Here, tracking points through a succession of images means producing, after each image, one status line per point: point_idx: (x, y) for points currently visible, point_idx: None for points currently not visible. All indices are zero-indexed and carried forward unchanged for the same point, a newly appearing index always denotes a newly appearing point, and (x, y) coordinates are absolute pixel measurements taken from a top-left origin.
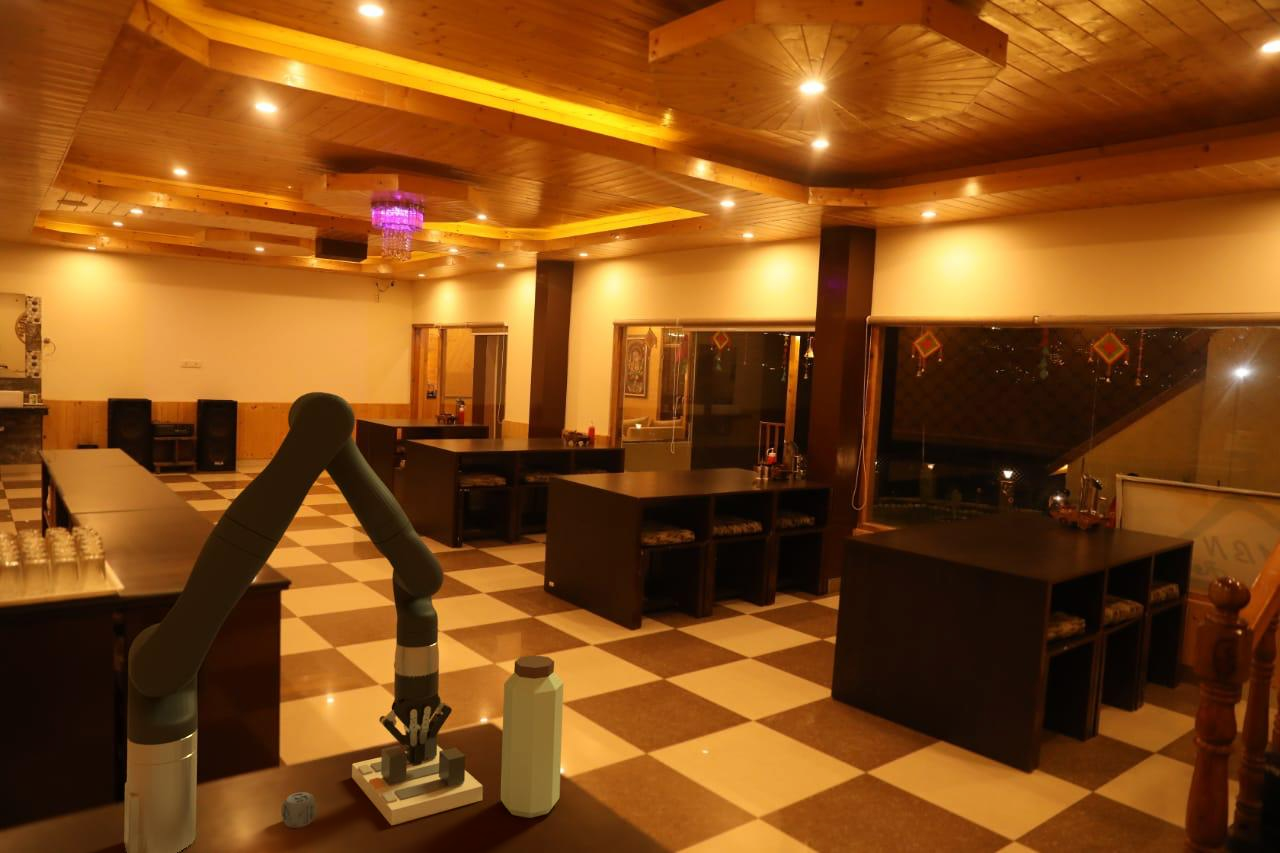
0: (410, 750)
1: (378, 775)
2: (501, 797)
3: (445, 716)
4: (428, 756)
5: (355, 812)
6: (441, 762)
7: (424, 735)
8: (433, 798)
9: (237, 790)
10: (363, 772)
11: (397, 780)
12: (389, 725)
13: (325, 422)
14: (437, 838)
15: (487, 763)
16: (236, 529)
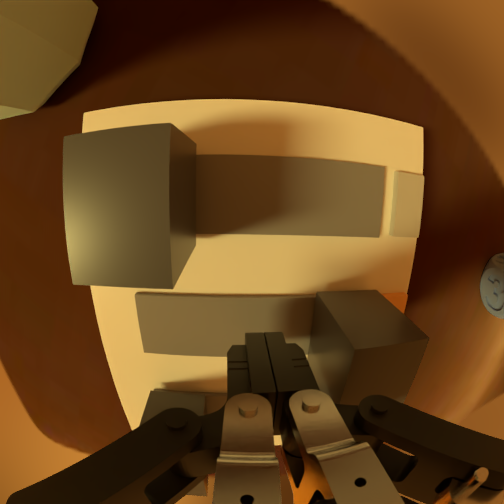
0: (310, 382)
1: None
2: (77, 51)
3: (57, 492)
4: (178, 396)
5: (430, 256)
6: (182, 236)
7: (241, 432)
8: (282, 106)
9: (468, 404)
10: None
11: (349, 292)
12: (500, 458)
13: None
14: (317, 7)
15: (38, 323)
16: None
